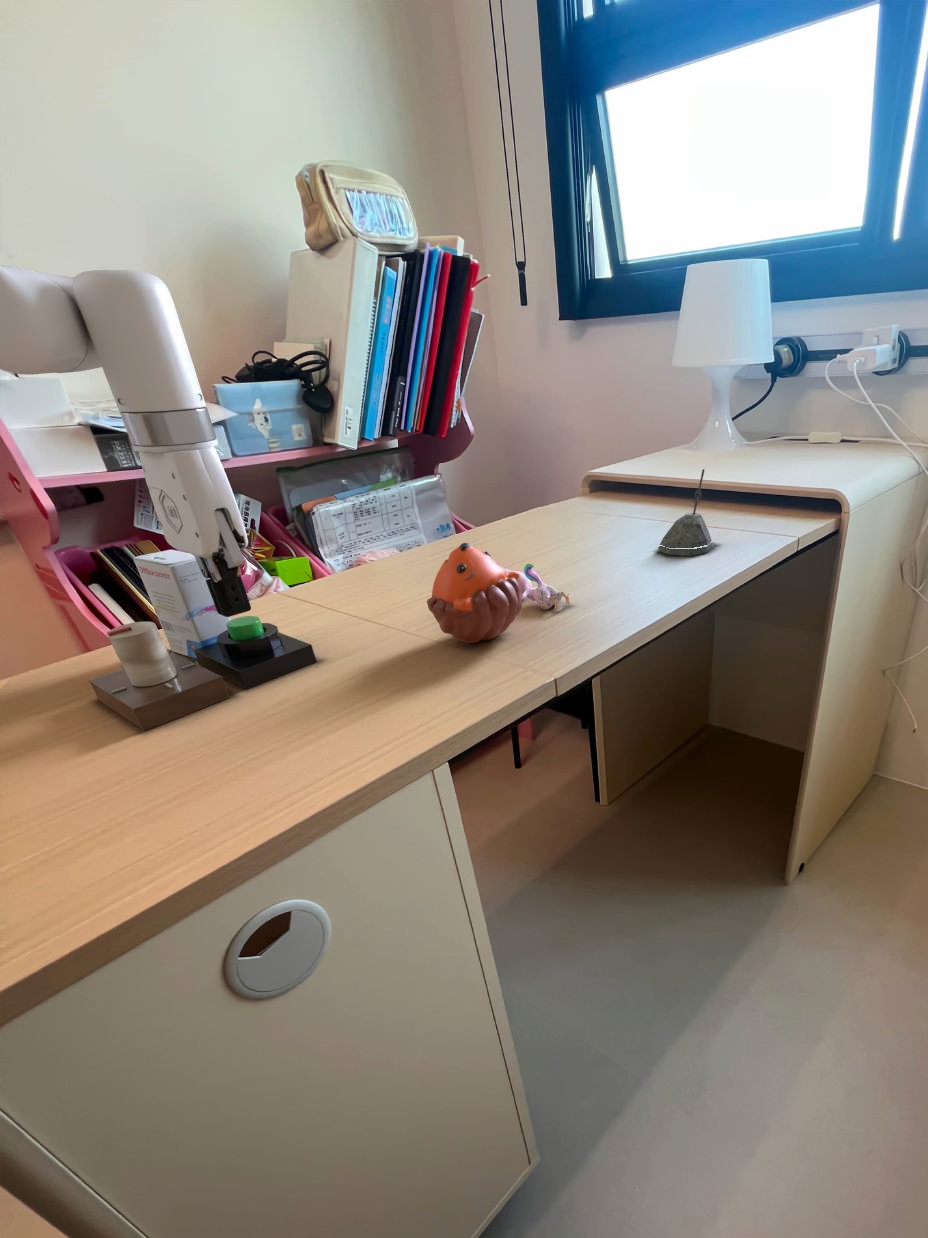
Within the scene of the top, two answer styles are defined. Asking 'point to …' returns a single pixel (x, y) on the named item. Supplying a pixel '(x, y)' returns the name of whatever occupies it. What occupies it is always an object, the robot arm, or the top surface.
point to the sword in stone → (688, 533)
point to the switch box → (255, 656)
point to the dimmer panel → (161, 694)
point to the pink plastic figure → (538, 589)
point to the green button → (245, 627)
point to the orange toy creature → (474, 596)
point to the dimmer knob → (142, 653)
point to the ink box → (181, 600)
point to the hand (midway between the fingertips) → (235, 612)
